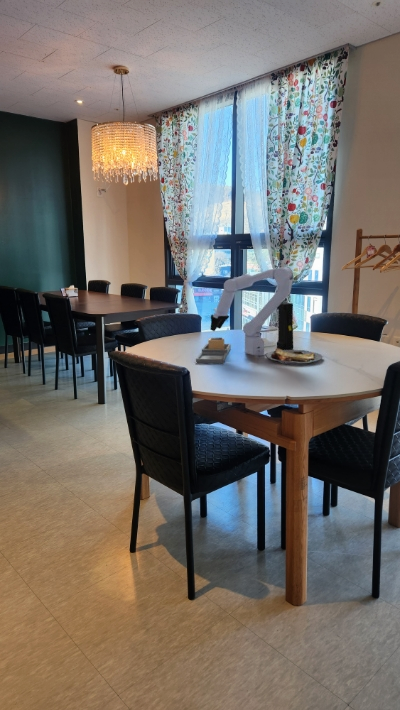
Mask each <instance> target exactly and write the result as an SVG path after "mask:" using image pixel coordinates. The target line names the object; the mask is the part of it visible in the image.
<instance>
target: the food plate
mask: <svg viewBox="0 0 400 710" xmlns="http://www.w3.org/2000/svg"><path fill="white" fill-rule="evenodd" d="M264 354H265V355H264V356H265V358H266V359H268V360H272V361H277V362H279V363H281V364H285V365H289V364H290V365H299V364H301V365H302V364H309V363H312V362H317V361H320V360H321V359H323V358H324V355H322V354H321V353H319V352H313V351H310V350H302V349H299V350H298V349H292V350H281V349H279V348H275V350H273V351H268V352H267V353H264Z"/></svg>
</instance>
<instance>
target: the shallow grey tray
mask: <svg viewBox="0 0 400 710" xmlns="http://www.w3.org/2000/svg"><path fill="white" fill-rule="evenodd" d="M227 356H228V355H227V353H208V352H202V351H201V352H200V353H199V355H198V356H197V357H196V358H195V363H196V362H197V363H213V364H212V365H224V363H225V360H226V358H227Z"/></svg>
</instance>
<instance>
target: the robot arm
mask: <svg viewBox="0 0 400 710" xmlns="http://www.w3.org/2000/svg"><path fill="white" fill-rule="evenodd" d="M294 278H295V277H294V273H293V269H292V268H290V267H289V266H284V267H278V268H277V267H276V268H270V269H267V270H265V271H262V272H259V273H256V274H253V275H251V274H250V273H243V274H242V275H241V276H238V277H237V276H235V277H234V276H233V278H231V279H227V280H225V282H224V283H223V291H222V293H221V295H220V299H219V301H218V305H217V307H215V308H214V309H213V311H215V312H214V313H213V314H210V321H211V322H210V327H209V328H210V330H211V331H212V332H215V331H216V330H217V329H221V328H222V327H223V326H224V324H225V322H226V321H227V320H228V319H229V318H230V315H228V314H229V312H230V311H229V310H230V308H231V305H232V303H233V300H234V299H235V294H236V292H237V291H239V290H242V289H246V288H249V287H252V286H253V284H254V283H256V282H259V281H262V280H267V279H271V280H275V282H276V284H277V290H276V292H275V293H274V295H273V296H271V298H270V299H269V300H268V302H266V304H265V305H264V306H263V307H262V309H261V310H260V311H258V313H257V314H256V315H255V316H254V317H253V318H252V319H251V320H249V321H248V322H246V323H245V324H244V325H243V326H242V331H243V333H244V354H248V355H251V356H258V357H259V356H265V354H266V353H265V341H264V339H263V338H262V337H261V333H260V332H261V331H262V328H263V326H264V324H265V322H267V320H268V319H269V317H270V316H271V315H272V314H273V313H274V312H275V311H276V309H277V307H278V306H279V305H280V304H281V303H284V300H285V299H286V298H287V297H288V296H289V295H290V293H291V291H292V285H293V281H294Z"/></svg>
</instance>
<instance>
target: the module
mask: <svg viewBox="0 0 400 710" xmlns="http://www.w3.org/2000/svg"><path fill="white" fill-rule="evenodd" d="M207 341H208V343H207V344H208V346H209V349H225V348H224V344H225V338H223V337H210V338H209V339H208V340H207Z"/></svg>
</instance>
